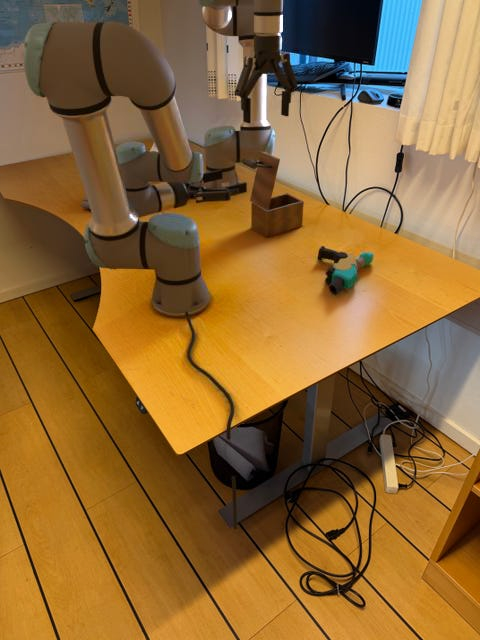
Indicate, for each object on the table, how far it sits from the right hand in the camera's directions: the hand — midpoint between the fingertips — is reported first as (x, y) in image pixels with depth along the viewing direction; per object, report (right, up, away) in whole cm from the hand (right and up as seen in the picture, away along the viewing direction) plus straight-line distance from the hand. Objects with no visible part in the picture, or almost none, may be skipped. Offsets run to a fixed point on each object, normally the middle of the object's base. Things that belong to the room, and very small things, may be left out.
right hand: (266, 118), depth 139 cm
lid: (+1, -15, +11) cm, 19 cm away
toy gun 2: (+20, -46, -3) cm, 50 cm away
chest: (+5, -27, +23) cm, 36 cm away
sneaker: (-45, +13, +79) cm, 92 cm away
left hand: (-10, -17, +4) cm, 20 cm away
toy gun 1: (-57, -16, +40) cm, 72 cm away
